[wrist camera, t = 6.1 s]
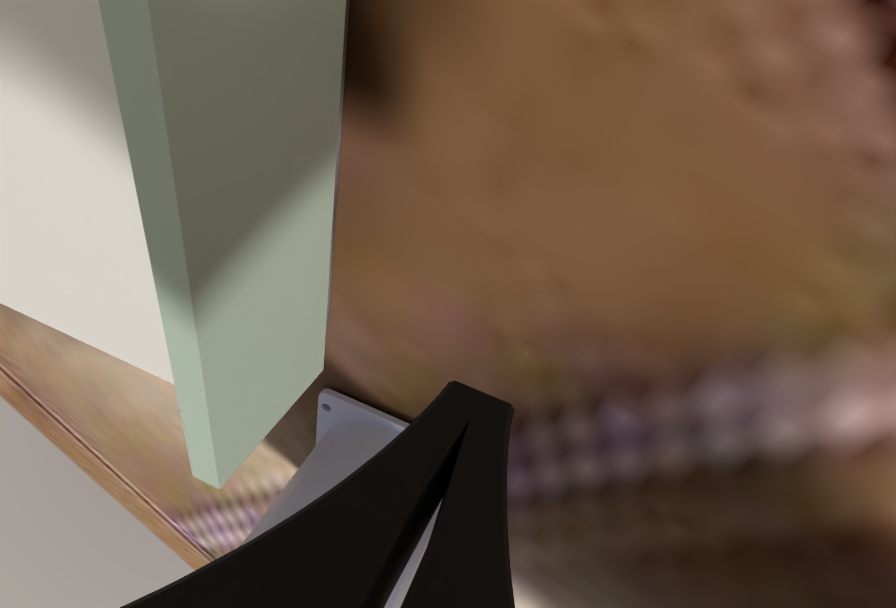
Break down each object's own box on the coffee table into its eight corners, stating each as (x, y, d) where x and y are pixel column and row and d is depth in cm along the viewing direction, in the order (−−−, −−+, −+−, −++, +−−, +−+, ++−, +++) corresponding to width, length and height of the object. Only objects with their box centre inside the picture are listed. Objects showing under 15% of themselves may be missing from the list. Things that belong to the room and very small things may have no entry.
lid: (323, 369, 20) (219, 489, 16) (-40, 212, 24) (-215, 271, 19) (349, -62, 12) (135, -82, 7) (-228, -215, 15) (-634, -298, 10)
